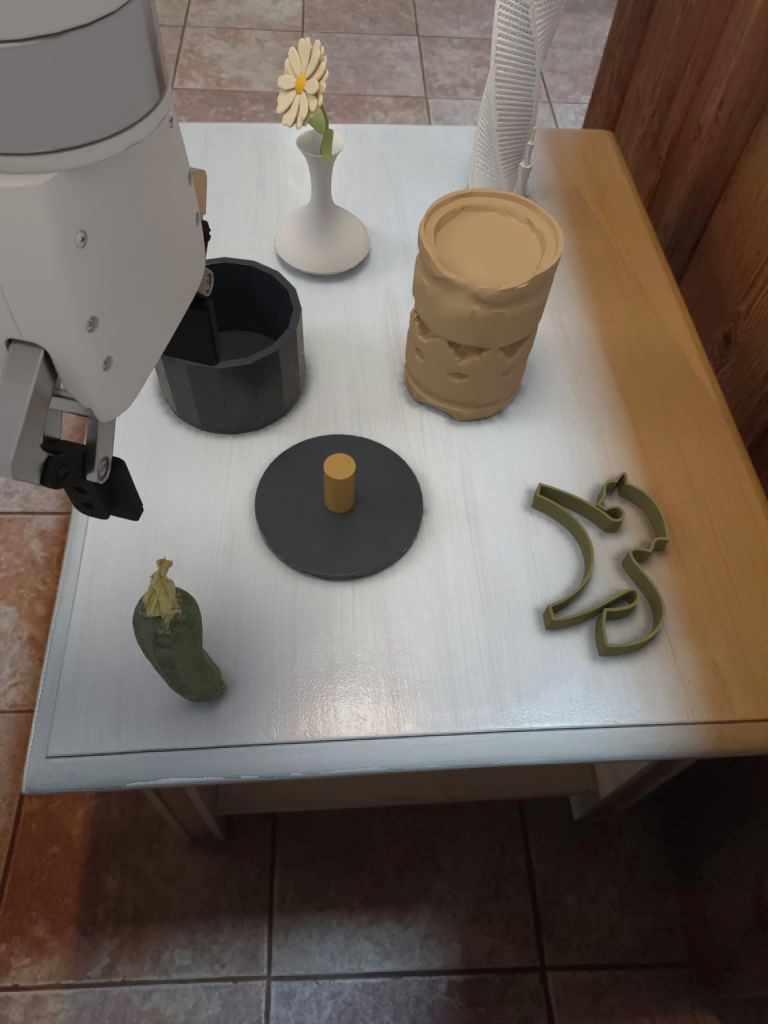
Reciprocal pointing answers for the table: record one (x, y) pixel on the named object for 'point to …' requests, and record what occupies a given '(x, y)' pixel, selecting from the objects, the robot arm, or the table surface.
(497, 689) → the table surface
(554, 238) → the container
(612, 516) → the cookie cutter
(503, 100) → the skyscraper
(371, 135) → the table surface
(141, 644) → the vegetable
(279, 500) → the lid
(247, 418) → the pot
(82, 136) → the robot arm
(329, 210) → the flower in vase
